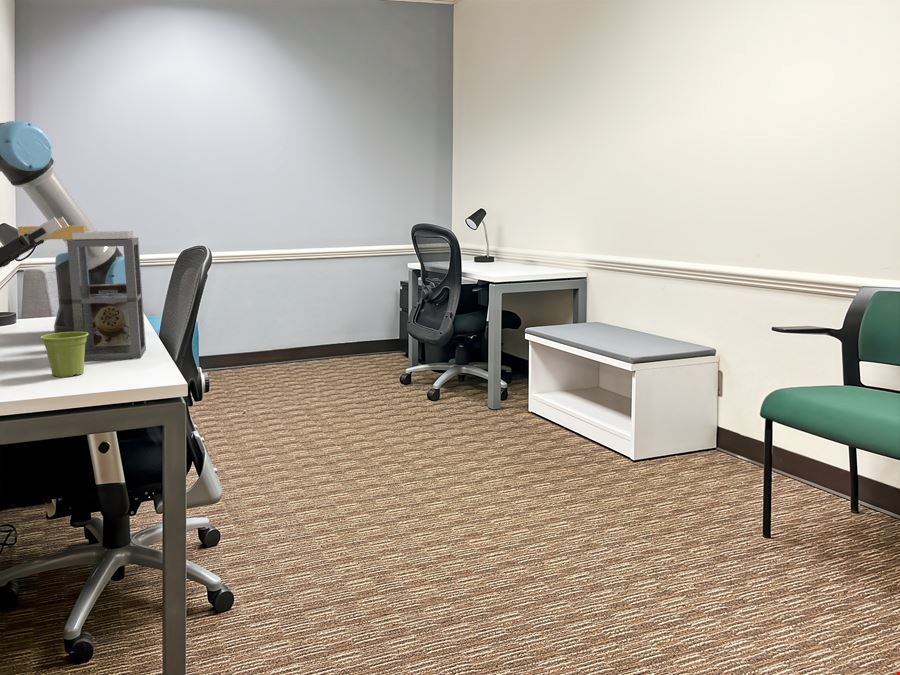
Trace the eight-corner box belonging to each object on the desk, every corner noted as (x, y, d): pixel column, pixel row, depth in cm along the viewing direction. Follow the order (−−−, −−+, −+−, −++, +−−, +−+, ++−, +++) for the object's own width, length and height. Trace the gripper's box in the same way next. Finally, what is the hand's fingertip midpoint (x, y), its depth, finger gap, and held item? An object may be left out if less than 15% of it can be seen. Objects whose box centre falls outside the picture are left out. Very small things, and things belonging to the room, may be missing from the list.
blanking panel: (26, 238, 198) (25, 226, 197) (133, 236, 203) (132, 224, 203) (15, 240, 188) (14, 227, 188) (128, 238, 194) (127, 225, 193)
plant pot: (38, 380, 174) (34, 339, 172) (50, 371, 183) (47, 332, 182) (86, 377, 176) (82, 337, 174) (95, 369, 185) (92, 330, 183)
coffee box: (93, 349, 210) (88, 286, 208) (93, 346, 216) (88, 283, 213) (131, 347, 213) (127, 284, 211) (131, 343, 219) (126, 282, 217)
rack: (84, 352, 206) (75, 238, 201) (146, 349, 209) (138, 237, 205) (75, 361, 194) (65, 240, 190) (140, 358, 198) (132, 239, 193)
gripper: (-4, 283, 203) (80, 234, 205) (-30, 291, 183) (62, 237, 186) (-24, 256, 201) (61, 208, 204) (-53, 262, 181) (42, 208, 184)
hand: (62, 222), depth 195 cm, fingers open, 8 cm apart
